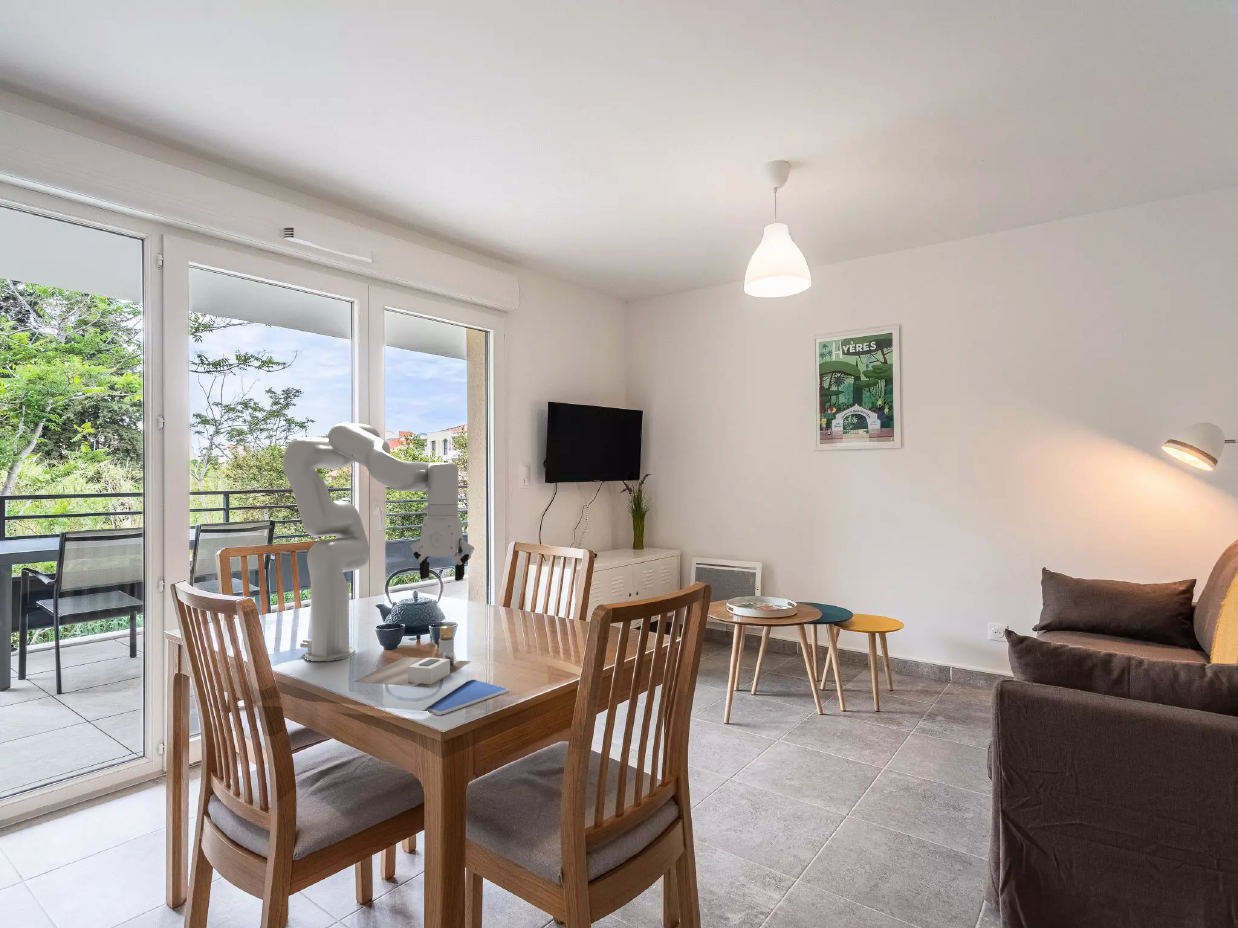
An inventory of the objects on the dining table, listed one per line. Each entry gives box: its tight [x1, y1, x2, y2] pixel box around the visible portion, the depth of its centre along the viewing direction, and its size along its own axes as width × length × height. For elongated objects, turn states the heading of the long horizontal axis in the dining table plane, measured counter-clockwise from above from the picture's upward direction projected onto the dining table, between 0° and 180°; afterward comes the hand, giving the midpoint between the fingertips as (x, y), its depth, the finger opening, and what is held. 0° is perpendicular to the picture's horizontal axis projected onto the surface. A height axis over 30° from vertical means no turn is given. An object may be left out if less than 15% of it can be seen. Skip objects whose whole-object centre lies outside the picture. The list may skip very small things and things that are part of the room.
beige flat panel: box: [354, 656, 472, 688], centre depth 160 cm, size 19×21×2 cm
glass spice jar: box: [438, 625, 455, 667], centre depth 165 cm, size 4×4×10 cm
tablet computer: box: [423, 679, 509, 716], centre depth 145 cm, size 19×13×1 cm, turn 143°
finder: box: [408, 657, 451, 684], centre depth 155 cm, size 6×8×4 cm
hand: (441, 579), depth 168 cm, fingers open, 9 cm apart
